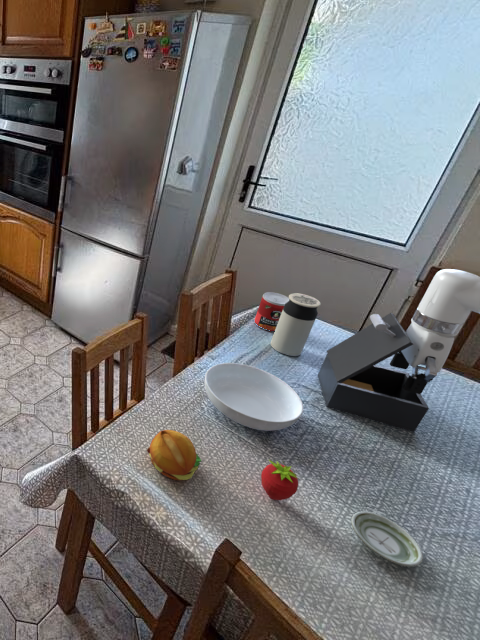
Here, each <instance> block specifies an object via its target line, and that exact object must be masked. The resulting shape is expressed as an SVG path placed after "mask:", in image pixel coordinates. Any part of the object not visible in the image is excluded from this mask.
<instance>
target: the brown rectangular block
mask: <svg viewBox="0 0 480 640" xmlns="http://www.w3.org/2000/svg"><path fill="white" fill-rule="evenodd" d="M342 383H343V384H347V385H350V386H354V387H358V388H362V389H365V390H369V391H373V392H374V390H373V388H372V386H371V385H369V384H366V383H362V382H358V381H354V380H350V379H348V380H346V381H344V382H342Z"/></svg>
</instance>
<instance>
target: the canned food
mask: <svg viewBox="0 0 480 640" xmlns="http://www.w3.org/2000/svg"><path fill="white" fill-rule="evenodd" d="M288 301H289V296H286V295H285V294H282V293H278V292H273V291H267V292H264V293H263V295H262V297H261V300H260V303H259V306H258V308H257V311H256V315H255V317H254V324H255V323H256V324H257V325H258V326H260V327H262V328H264V329H267V330H270V331H269V332H271V331H275V329H276V327H277V324H278V321H279V319H280V316H281V313H282V311H283V308H284V305H285V303H287V302H288ZM256 324H255V325H256ZM257 325H256V326H257ZM258 326H257V327H258Z"/></svg>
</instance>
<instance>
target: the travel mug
mask: <svg viewBox="0 0 480 640" xmlns="http://www.w3.org/2000/svg"><path fill="white" fill-rule="evenodd" d="M288 298H289V301H288V302H287V303H285V305H284V308H283V311H282V313H281V316H280V319H279V321H278V324H277V327H276V329H275V332H273V335H272V337H271V340H270V344H269V345H270V346H271V347H272V349H273V350H275V351H277V352H278V353H281V354H283V355H287V356H290V357H297V356H300V355H302V353H303V350H304V348H305V346H306V344H307V341H308V339H309V336H310V334H311V331H312V329H313V327H314V324H315V323H316V320H317V317H318V314H319V312H318V308H319V307H321V302H320V301H319V300H318V299H317V298H315V297H314V296H311V295H308V294H304V293H297V292H295V293H290V294H289V295H288Z"/></svg>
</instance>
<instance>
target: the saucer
mask: <svg viewBox="0 0 480 640" xmlns="http://www.w3.org/2000/svg"><path fill="white" fill-rule="evenodd" d="M350 523H351V527H352V529H353V531H354V533H355V535H356V536H357V537H358V538H359V540H360V541H361V542H362V543H363V544H364V545H365V546H366V547H367V548H369V550H371V551H372V552H373V553H374V554H376V555H377V556H379V557H381V558H383V559H385V560H386V561H389V562H392V563H393V564H396V565H399V566H403V567H417V566H419V565H420V564H421V563H422V562H423V560H424V553H423V551H422V548H421V547H420V545H419V544H418V542H417V541H416V540H415V538H414V537H413V536H412V535H411V534H409V532H408V531H407V530H405V529H404V528H403V527H402V526H400V525H399V524H397V523H396V522H394V521H393V520H391V519H389V518H387V517H386V516H383V515H380V514H379V513H375V512H371V511H363V510H362V511H357V512H355V513H353V515H352V516H351V521H350Z"/></svg>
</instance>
